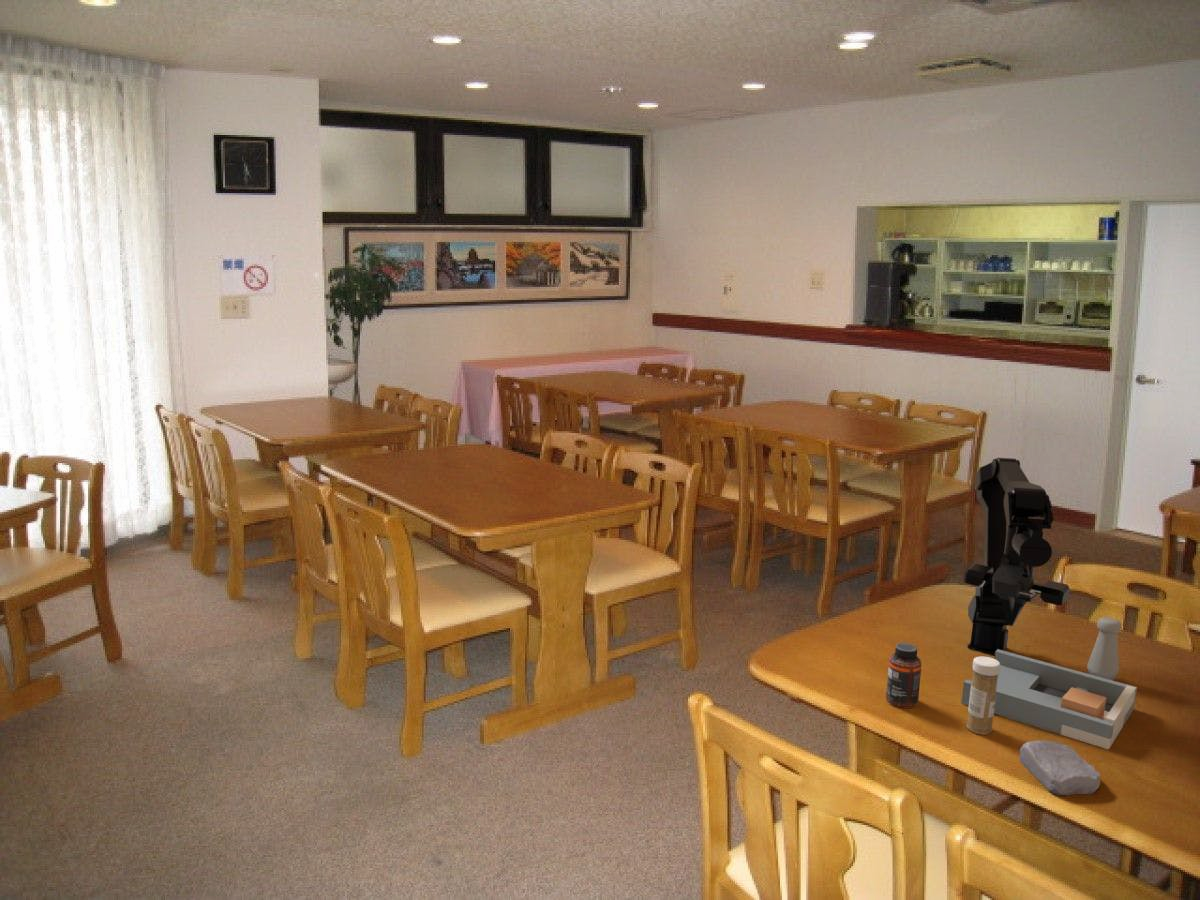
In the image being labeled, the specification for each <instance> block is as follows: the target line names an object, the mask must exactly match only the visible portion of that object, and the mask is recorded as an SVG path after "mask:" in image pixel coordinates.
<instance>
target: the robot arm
mask: <svg viewBox="0 0 1200 900" xmlns="http://www.w3.org/2000/svg"><path fill="white" fill-rule="evenodd" d="M973 481H974V483H973V486H974V490H975V491H976V500H977V501H978V502H979V504H980V506H981V508H982V509H983V511H984V512H983V513H984V516H983V517H984V523H983V525H984V526H983V527H984V528H983V529H984V530H983V533H984V535H983V564H979V563H974V564H973V565H972V566H970V567H969V568H968V569H967V570H965V572H964V576H963V577H964V578H963V583H965V584H968V585H972V586H976V588H975V593H974V594H975V595H973V597H972V598H971V600H970V602H969V604H968V606H967V608H968V609H967V615H968V618H969V620H970V622H971V623H972V628H971V629H972V630H971V635H970V642H969V643H968V644H967V648H969V649H971V650H975V651H979V652H982V653H986V654H989V655H993V656H995V651H996V650H997V649H999V650H1003V651H1005V650H1006V649H1007V646H1008V639H1009V632H1010V631H1009V629H1007V627H1008V626H1009V627H1013V626H1014V624H1015V623H1016V621H1017V619H1018V618H1019V616H1020V614H1021V612H1022V610H1023V608H1024V607H1025V605H1026V604H1027V602H1029V603H1030V602H1032V601H1033V600H1034V599H1035V598H1036V597H1037V596H1038V595H1039V597H1040V599H1041V600H1042V602H1044V603H1046V604H1051V605H1056V606H1062V605H1064V604H1065V602H1067V601H1068V600H1069V598H1070V592H1071V589H1070V587H1069V585H1068V584H1067V583H1062V582H1059V581H1058V582H1057V581H1053V580H1050V579H1049V580H1047V582H1045V584H1041V583H1037V582H1034V578H1035V573H1034V571H1035V568H1037V567H1038V568H1039V567H1041V566H1044V565H1045V564H1047V563H1048V562H1049V561H1050V559H1051V558H1052V555H1053V551H1052V550H1053V549H1052V546H1051V545H1050V542H1049V541H1048V540H1047V539H1046V538H1045V536H1044V531H1043V530H1044V529H1047V530H1052V524H1053V521H1054V514H1053V513H1054V512H1053V507H1052V501H1051V499H1050V496H1049V494H1047V491H1046V489H1044V487H1042V486H1040V485H1038V484H1035V483H1031V482H1030V480H1029V479H1028V477H1027V476H1026V474H1025V472H1024V471H1023V469H1022V468H1021V463H1020V460H1019V459H1016V458H1011V457H1010V458H1009V457H997V458H993V459H992V461H991V462H990V463H987V464H985V465H982V466H981V467H979V468H978V470H977V472H976V474H975V476H974V480H973Z"/></svg>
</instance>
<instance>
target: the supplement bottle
mask: <svg viewBox="0 0 1200 900" xmlns="http://www.w3.org/2000/svg"><path fill="white" fill-rule="evenodd" d="M921 674H922V660H921V658H920V657H919V656H918V647H917V646H916V645H915V644H911V643H908V642H899V643H896V645H895V648H894V653H892V654H891V655H890V657H889V660H888V671H887V682H886V697H885V699H886V701H887V703H889V704H890V705H893V706H895V707H898V708H903V709H904V708H907V709H909V708H914V707H915V706H917V705H918V703H919V699H920V698H919V696H920V686H921Z"/></svg>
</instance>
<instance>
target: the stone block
mask: <svg viewBox="0 0 1200 900" xmlns="http://www.w3.org/2000/svg"><path fill="white" fill-rule="evenodd" d="M1019 761H1020V763H1021V764H1022V765H1023V766H1024V768H1026V769H1027V771H1029V772H1030V774H1032V775H1033V776H1034V778H1035V779H1037V781H1039V782H1040V783H1041V785H1042V786H1043V787H1044V788H1045V789H1046V790H1047V791H1049V792H1050V793H1053V795H1055V796H1060V797H1061V796H1070V795H1071V796H1072V795H1074V794H1079V795H1081V794H1082V795H1091V794H1094V793H1095V792H1096V790H1098V789H1099V787H1100V785H1101V773H1100V772H1099V771H1097V770H1096V769H1095V767H1094V766H1093V765H1091V764H1089V763H1088V762H1087V761H1086V760H1085V759H1083V758H1082V757H1081V756H1080V754H1078V753H1077V752H1076V750H1074V749H1073V748H1072V747H1070V746H1069V745H1067V744H1064V743H1063V742H1057V741H1051V740H1040V739H1039V740H1032V741H1027V742H1025V743H1023V745H1022V746H1021V747H1020V750H1019Z"/></svg>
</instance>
